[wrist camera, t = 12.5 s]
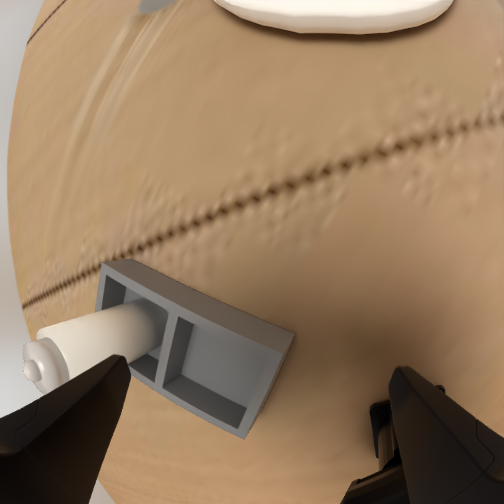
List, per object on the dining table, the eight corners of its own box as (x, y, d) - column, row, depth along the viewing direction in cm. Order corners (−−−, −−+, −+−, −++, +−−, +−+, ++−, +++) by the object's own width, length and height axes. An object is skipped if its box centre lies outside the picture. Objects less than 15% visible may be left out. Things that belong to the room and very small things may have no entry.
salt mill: (180, 327, 23) (52, 394, 11) (153, 354, 25) (39, 417, 12) (148, 286, 24) (13, 322, 11) (124, 316, 25) (5, 357, 13)
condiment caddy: (295, 333, 21) (283, 353, 18) (259, 413, 23) (244, 439, 19) (131, 258, 26) (101, 262, 22) (119, 334, 27) (92, 345, 24)
